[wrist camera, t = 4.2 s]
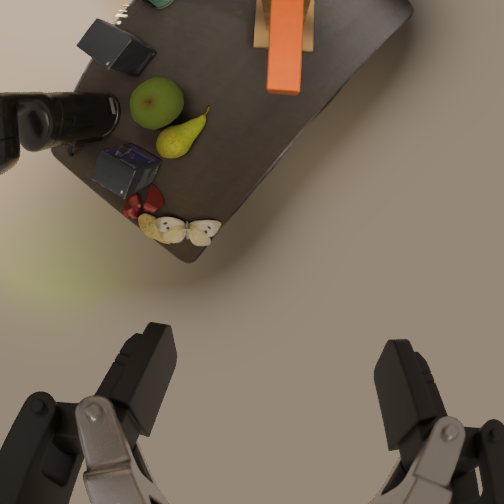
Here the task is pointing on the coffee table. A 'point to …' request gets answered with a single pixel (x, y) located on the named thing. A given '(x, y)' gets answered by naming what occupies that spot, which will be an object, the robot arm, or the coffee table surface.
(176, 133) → the fruit
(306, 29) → the stand
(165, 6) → the spray can
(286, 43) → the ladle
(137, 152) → the box
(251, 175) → the coffee table surface
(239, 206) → the coffee table surface
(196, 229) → the butterfly
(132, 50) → the small box
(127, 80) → the coffee table surface
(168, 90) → the apple
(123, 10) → the miniature set
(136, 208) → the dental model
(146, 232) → the pale yellow butterfly wing
